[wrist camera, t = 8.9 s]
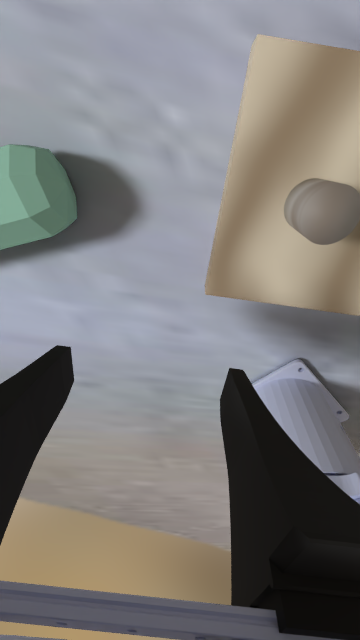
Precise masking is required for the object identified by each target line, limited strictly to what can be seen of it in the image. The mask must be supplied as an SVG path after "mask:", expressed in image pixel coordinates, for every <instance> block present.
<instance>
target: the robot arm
mask: <svg viewBox="0 0 360 640" xmlns="http://www.w3.org/2000/svg"><path fill="white" fill-rule="evenodd" d="M299 368H301V369H299ZM73 382H74V374H73V365H72V355H71V347H66V346H58V345H57V346H55V347H54V348H52V349H51V350H50V351H48V352H47V353H45V354H44V355H43V356H41V357H40V358H38V359H37V360H36V361H34V362H33V363H31V364H30V365H29V366H27V367H26V368H24V369H23V370H21V371H20V372H18V373H17V374H16V375H14V376H12V377H11V378H9V379H8V380H6V381H4V382H3V383H1V384H0V545H1V542H2V539H3V536H4V533H5V531H6V528H7V526H8V523H9V520H10V518H11V515H12V513H13V510H14V507H15V505H16V503H17V500H18V498H19V495H20V493H21V490H22V488H23V486H24V483H25V481H26V478H27V476H28V474H29V471H30V469H31V467H32V464H33V462H34V460H35V458H36V455H37V454H38V452H39V450H40V448H41V446H42V444H43V442H44V440H45V438H46V437H47V435H48V433H49V431H50V429H51V428H52V426H53V424H54V422H55V420H56V419H57V417H58V415H59V413H60V411H61V409H62V408H63V406H64V404H65V402H66V400H67V397H68V395H69V393H70V390H71V387H72V385H73ZM220 417H221V427H222V434H223V441H224V448H225V455H226V462H227V469H228V478H229V496H230V521H231V565H232V566H231V573H232V575H231V578H232V579H231V581H232V600H231V601H232V602H231V605H220V604H211V603H203V602H193V601H184V600H175V599H166V598H156V597H147V596H138V595H128V594H119V593H110V592H100V591H90V590H82V589H73V588H63V587H53V586H45V585H35V584H27V583H17V582H8V581H0V621H6V622H15V623H25V624H35V625H44V626H53V627H64V628H73V629H82V630H92V631H102V632H112V633H121V634H131V635H141V636H150V637H160V638H169V639H180V640H360V458H359V456H358V454H357V452H356V450H355V449H354V447H353V445H352V443H351V441H350V439H349V437H348V435H347V434H346V432H345V430H344V428H343V426H342V424H341V422H344V421H346V420H348V419H349V415H348V413H347V412H346V411H345V409H344V408H343V407H342V406H341V405H340V404H339V402H338V401H337V400H336V399H335V398H334V397H333V396H332V394H331V393H330V392H329V391H328V390H327V389H326V388H325V386H324V385H323V384H322V383H321V382H320V381H319V380H318V378H317V377H316V376H315V375H314V374H313V373H312V372H311V370H310V369H309V368H308V367H307V366H306V365H305V364H304V362H303V361H302V360H299V359H296V360H294V361H292V362H290V363H288V364H286V365H285V366H283V367H281V368H279V369H277V370H276V371H274V372H272V373H270V374H269V375H267V376H265V377H263V378H261V379H260V380H258V381H256V382H254V383H252V384H251V382H250V381H249V379H248V377H247V376H246V374H245V372H244V371H243V370H240V369H233V368H229V371H228V375H227V378H226V381H225V385H224V388H223V391H222V395H221V398H220ZM0 640H65V639H53V638H39V637H26V636H16V635H0Z"/></svg>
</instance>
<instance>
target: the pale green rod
mask: <svg viewBox="0 0 360 640" xmlns="http://www.w3.org/2000/svg"><path fill="white" fill-rule="evenodd" d="M76 219H77V204H76V196H75V193H74V191H73V188H72V186H71V183H70V181H69V178H68V176H67V173H66V171H65V169H64V168H63V167H62V165H61V164H60V163H59V162H58V160H57V159H56V158H55V157H54V155H53V154H52V153H51V151H50V150H49V149H44V148H39V147H34V146H28V145H10V144H9V145H6V146H3V147H0V250H1V249H5V248H9V247H13V246H17V245H21V244H25V243H29V242H33V241H37V240H41V239H45V238H49V237H53V236H54V235H56V234H58V233H59V232H61V231H63V230H65V229H66V228H67V227H68V226H69V225H70V224H71V223H73V222H74V221H75V220H76Z"/></svg>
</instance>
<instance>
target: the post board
mask: <svg viewBox="0 0 360 640" xmlns="http://www.w3.org/2000/svg"><path fill="white" fill-rule="evenodd" d="M205 294H206V295H213V296H220V297H227V298H234V299H242V300H249V301H256V302H263V303H270V304H278V305H285V306H292V307H299V308H306V309H314V310H321V311H328V312H335V313H342V314H349V315H357V316H360V51H355V50H349V49H343V48H337V47H331V46H325V45H319V44H313V43H307V42H301V41H295V40H289V39H283V38H277V37H271V36H265V35H259V34H258V35H257V37H256V38H255V40H254V42H253V44H252V47H251V52H250V57H249V62H248V67H247V73H246V78H245V83H244V88H243V93H242V98H241V103H240V108H239V114H238V119H237V124H236V129H235V134H234V139H233V144H232V149H231V154H230V160H229V165H228V170H227V175H226V180H225V185H224V190H223V195H222V200H221V206H220V211H219V216H218V221H217V226H216V231H215V236H214V241H213V247H212V252H211V257H210V262H209V267H208V272H207V277H206V282H205Z"/></svg>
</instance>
